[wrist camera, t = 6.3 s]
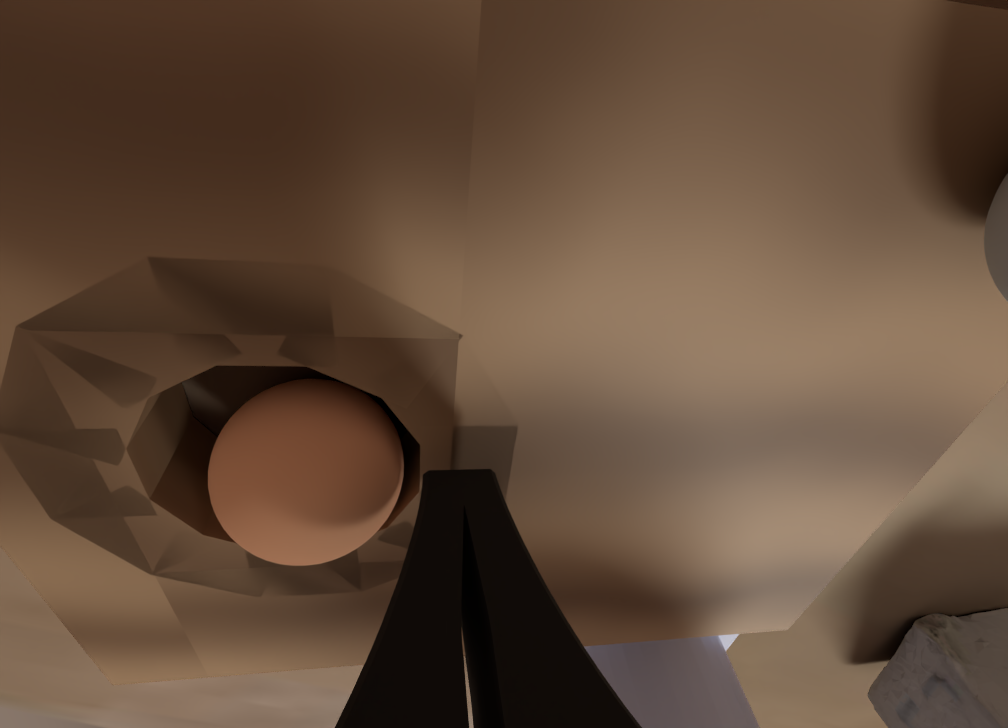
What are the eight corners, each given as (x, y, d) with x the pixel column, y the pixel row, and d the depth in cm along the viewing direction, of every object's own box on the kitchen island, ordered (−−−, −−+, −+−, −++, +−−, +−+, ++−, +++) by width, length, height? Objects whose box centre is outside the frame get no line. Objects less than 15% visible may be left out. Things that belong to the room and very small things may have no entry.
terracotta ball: (291, 411, 14) (418, 478, 14) (179, 538, 11) (335, 621, 11) (288, 313, 11) (449, 396, 11) (135, 453, 8) (346, 565, 8)
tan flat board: (752, 566, 20) (787, 629, 18) (149, 602, 17) (112, 685, 15) (1120, 39, 10) (1297, 54, 8) (-297, -172, 6) (-634, -243, 4)
